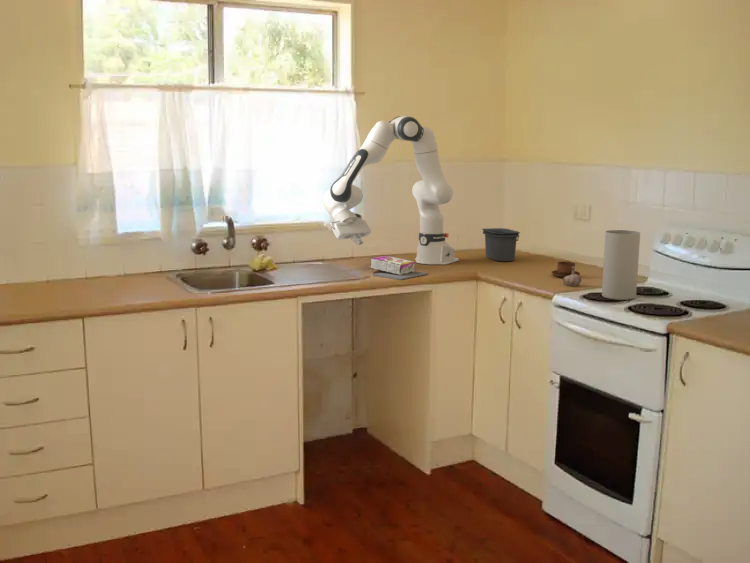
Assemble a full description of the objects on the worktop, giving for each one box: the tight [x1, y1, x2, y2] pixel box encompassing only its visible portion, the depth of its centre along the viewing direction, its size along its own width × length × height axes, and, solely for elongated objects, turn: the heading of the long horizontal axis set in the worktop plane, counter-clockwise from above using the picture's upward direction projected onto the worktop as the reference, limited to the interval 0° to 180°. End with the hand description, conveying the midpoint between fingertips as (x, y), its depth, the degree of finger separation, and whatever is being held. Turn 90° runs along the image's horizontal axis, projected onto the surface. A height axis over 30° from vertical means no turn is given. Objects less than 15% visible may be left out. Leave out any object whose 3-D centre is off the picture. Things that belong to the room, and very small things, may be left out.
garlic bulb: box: [562, 267, 582, 288], centre depth 332 cm, size 8×7×8 cm
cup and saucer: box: [551, 261, 581, 279], centre depth 353 cm, size 12×12×6 cm
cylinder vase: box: [601, 229, 641, 301], centre depth 307 cm, size 12×12×25 cm
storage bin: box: [481, 227, 521, 262], centre depth 399 cm, size 21×16×14 cm
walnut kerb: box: [372, 269, 384, 275], centre depth 360 cm, size 14×1×2 cm, turn 137°
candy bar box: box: [370, 255, 416, 275], centre depth 358 cm, size 11×5×16 cm
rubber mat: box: [372, 270, 429, 281], centre depth 354 cm, size 18×16×1 cm
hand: (360, 243), depth 368 cm, fingers closed
